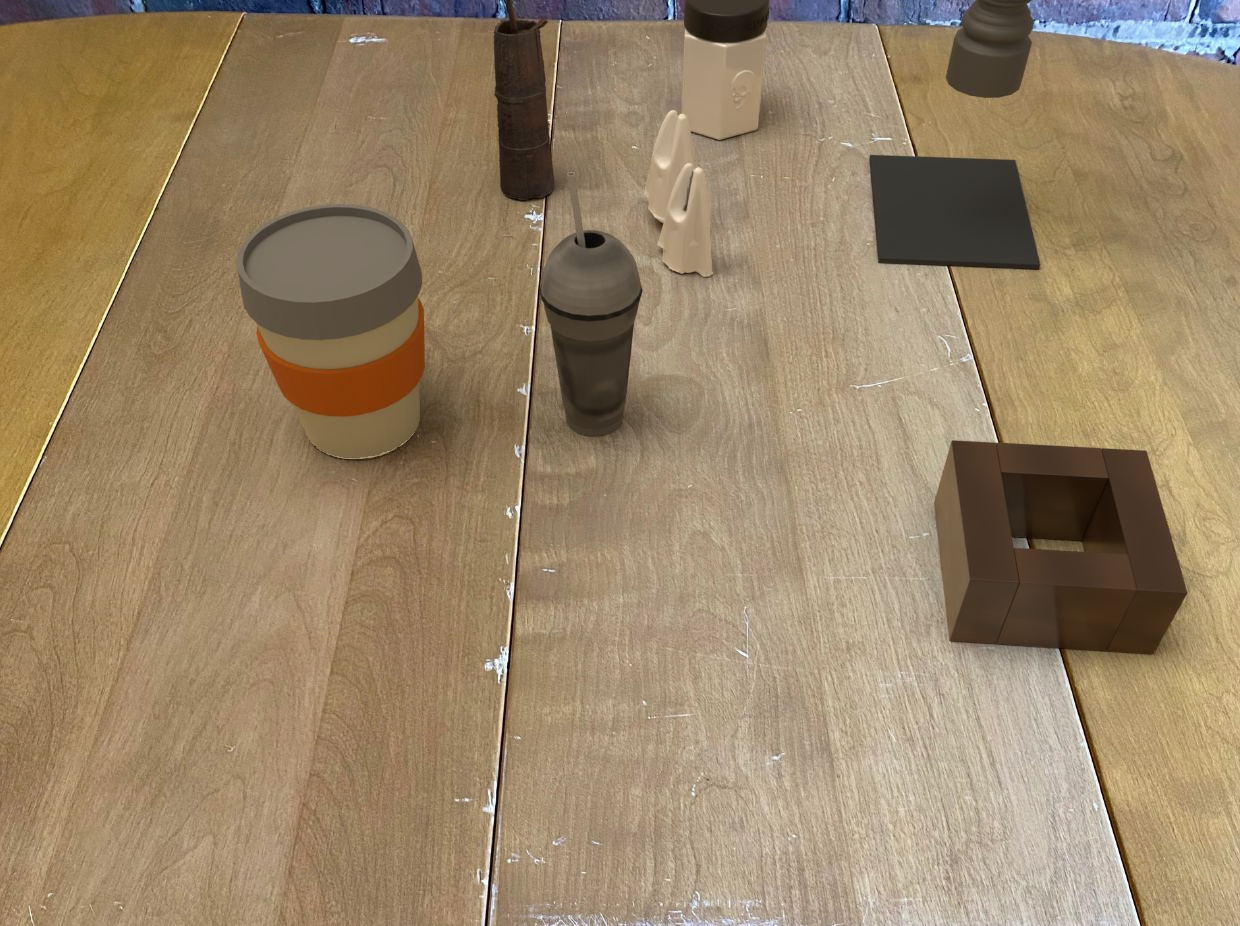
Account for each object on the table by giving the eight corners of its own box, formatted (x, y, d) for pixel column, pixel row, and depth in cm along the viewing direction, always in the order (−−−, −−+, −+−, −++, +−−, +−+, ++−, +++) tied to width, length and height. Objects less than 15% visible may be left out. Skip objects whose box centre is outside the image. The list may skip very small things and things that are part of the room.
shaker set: (642, 209, 111) (643, 92, 102) (685, 204, 111) (690, 88, 103) (668, 281, 103) (671, 162, 95) (714, 276, 104) (722, 156, 95)
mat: (1014, 164, 115) (1015, 159, 114) (1039, 269, 103) (1040, 264, 103) (869, 159, 116) (869, 154, 115) (878, 262, 104) (879, 257, 104)
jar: (701, 147, 118) (707, 23, 108) (662, 112, 122) (665, -10, 113) (777, 126, 120) (790, 3, 111) (736, 93, 125) (745, -29, 116)
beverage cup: (622, 457, 89) (622, 215, 73) (533, 436, 90) (514, 195, 75) (653, 398, 93) (659, 158, 78) (567, 379, 95) (556, 141, 79)
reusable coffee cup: (251, 453, 90) (195, 282, 78) (333, 357, 97) (293, 188, 86) (396, 493, 87) (361, 321, 75) (470, 391, 94) (448, 220, 82)
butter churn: (587, 159, 117) (579, -170, 95) (583, 211, 111) (574, -128, 89) (495, 159, 117) (466, -169, 95) (486, 210, 111) (453, -127, 89)
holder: (1118, 513, 84) (1146, 449, 79) (1153, 654, 76) (1188, 593, 71) (933, 503, 85) (951, 439, 80) (949, 641, 77) (970, 579, 72)
